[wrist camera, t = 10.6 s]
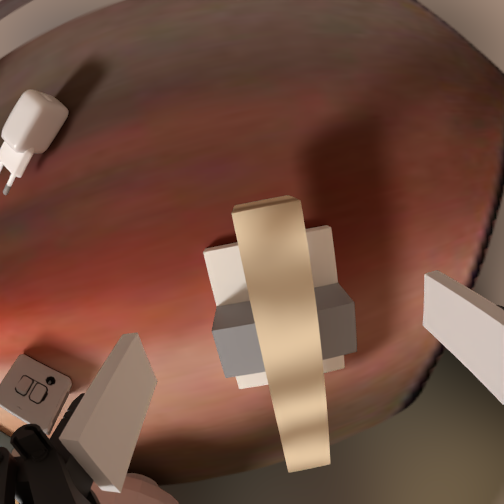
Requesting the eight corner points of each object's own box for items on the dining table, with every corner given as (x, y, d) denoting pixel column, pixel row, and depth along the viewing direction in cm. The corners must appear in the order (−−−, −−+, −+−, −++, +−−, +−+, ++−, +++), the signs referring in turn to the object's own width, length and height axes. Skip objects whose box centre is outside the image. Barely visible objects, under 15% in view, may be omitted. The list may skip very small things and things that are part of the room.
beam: (234, 205, 22) (231, 213, 18) (288, 195, 22) (300, 200, 17) (283, 437, 28) (288, 472, 23) (320, 429, 28) (330, 463, 23)
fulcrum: (205, 248, 30) (195, 267, 23) (327, 225, 29) (348, 238, 23) (239, 381, 34) (238, 418, 27) (341, 361, 33) (357, 395, 27)
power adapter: (27, 197, 28) (-5, 203, 22) (7, 174, 27) (-25, 176, 21) (76, 113, 26) (46, 104, 20) (52, 93, 25) (22, 83, 20)
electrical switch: (73, 377, 34) (43, 424, 25) (76, 400, 35) (50, 445, 26) (21, 350, 33) (-13, 389, 24) (26, 375, 34) (-3, 412, 26)
